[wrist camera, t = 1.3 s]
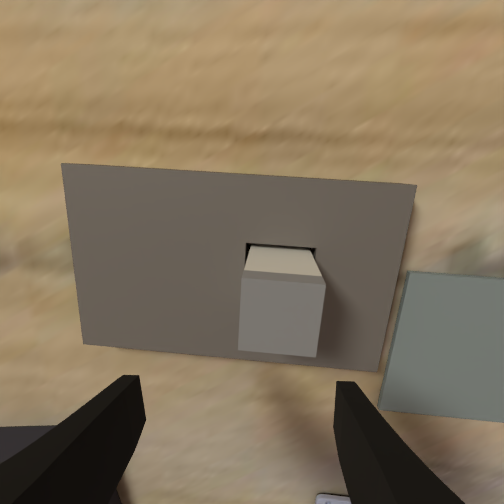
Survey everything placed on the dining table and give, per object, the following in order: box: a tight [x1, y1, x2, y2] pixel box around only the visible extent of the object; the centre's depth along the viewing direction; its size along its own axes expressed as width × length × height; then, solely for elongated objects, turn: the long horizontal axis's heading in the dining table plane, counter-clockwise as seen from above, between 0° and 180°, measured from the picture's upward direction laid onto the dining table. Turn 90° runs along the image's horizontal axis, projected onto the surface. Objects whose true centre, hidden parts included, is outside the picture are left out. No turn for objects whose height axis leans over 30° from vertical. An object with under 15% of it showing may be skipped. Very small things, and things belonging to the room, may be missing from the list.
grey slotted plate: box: [61, 163, 417, 372], centre depth 19 cm, size 20×12×2 cm, turn 87°
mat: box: [377, 271, 504, 423], centre depth 20 cm, size 11×11×1 cm
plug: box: [238, 243, 326, 357], centre depth 16 cm, size 4×4×7 cm
